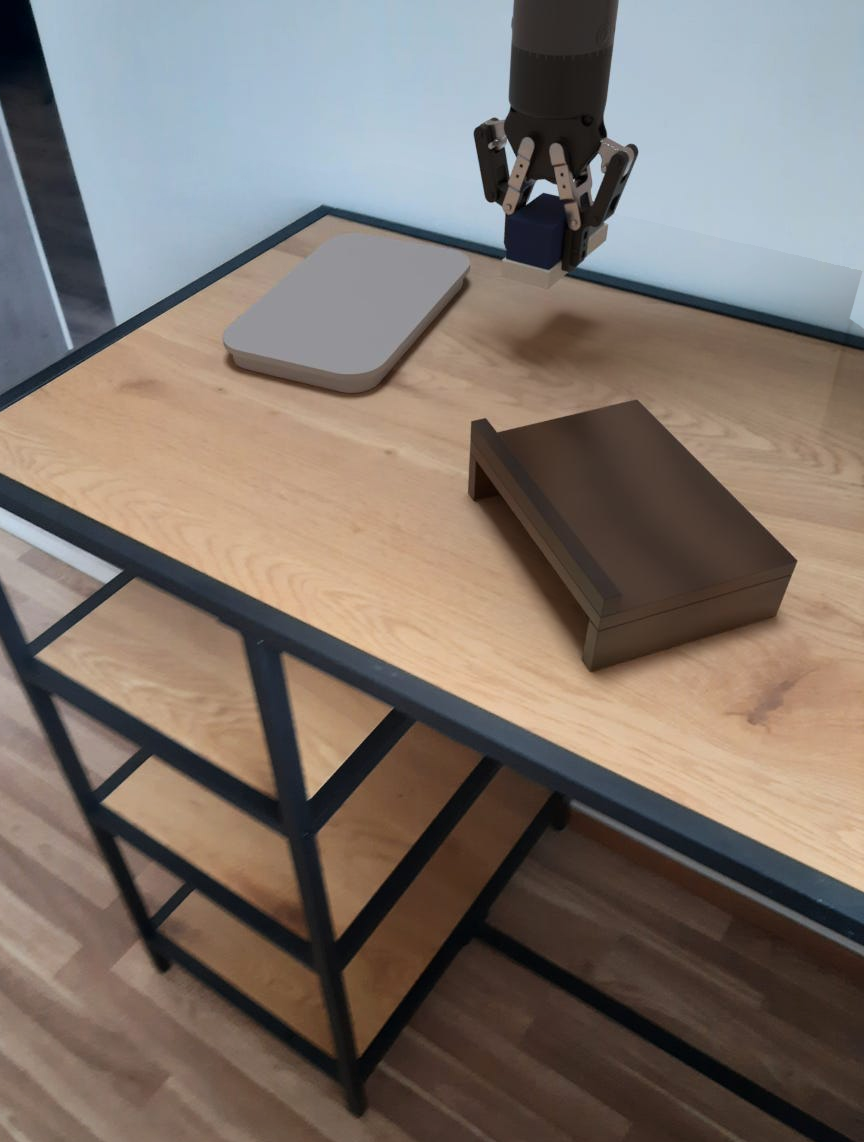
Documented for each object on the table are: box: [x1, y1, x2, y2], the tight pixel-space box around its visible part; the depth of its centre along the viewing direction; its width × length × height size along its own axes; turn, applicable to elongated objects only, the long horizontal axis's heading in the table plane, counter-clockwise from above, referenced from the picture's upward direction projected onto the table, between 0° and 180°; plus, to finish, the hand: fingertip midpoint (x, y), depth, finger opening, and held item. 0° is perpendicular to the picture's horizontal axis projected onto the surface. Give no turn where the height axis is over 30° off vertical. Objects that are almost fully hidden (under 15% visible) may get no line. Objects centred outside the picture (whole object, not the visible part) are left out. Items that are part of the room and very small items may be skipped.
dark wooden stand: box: [467, 398, 798, 672], centre depth 66 cm, size 14×20×6 cm
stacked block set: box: [500, 192, 609, 290], centre depth 81 cm, size 11×5×5 cm, turn 145°
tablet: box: [221, 232, 471, 394], centre depth 92 cm, size 16×26×2 cm, turn 155°
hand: (543, 260), depth 82 cm, fingers closed on stacked block set, 4 cm apart
